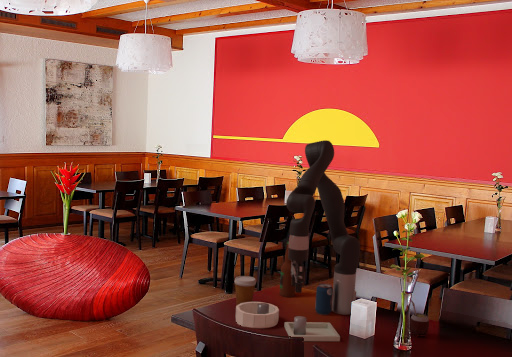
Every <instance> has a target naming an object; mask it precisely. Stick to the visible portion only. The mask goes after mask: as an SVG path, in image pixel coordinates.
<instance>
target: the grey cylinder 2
mask: <svg viewBox="0 0 512 357" xmlns="http://www.w3.org/2000/svg"><path fill="white" fill-rule="evenodd" d="M293 320H294V321H293V322H294V335H306V322H307V320H308V319H307V317H305V316H301V315H297V316H294V319H293Z"/></svg>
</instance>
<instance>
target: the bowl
mask: <svg viewBox="0 0 512 357" xmlns="http://www.w3.org/2000/svg"><path fill="white" fill-rule="evenodd" d="M258 303H264V302H262V301H252V302H245V303H240V304H239V305H237V304H236V306H235V323H236V322H237V323H236V324H237V325H238V326H240V325H241V327H243V328H252V329H268V328H272V327H275V326H276V325H277V324H278V322H279V316H280V314H279V313H280V309H279V308H278V306H276V305H274V304H272V303H267V302H266V303H267V304H269V313H268V314H257V305H258Z"/></svg>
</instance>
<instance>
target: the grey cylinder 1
mask: <svg viewBox="0 0 512 357" xmlns="http://www.w3.org/2000/svg"><path fill="white" fill-rule="evenodd" d="M269 304H270V303H269ZM269 304H267V302H263V303H258V305H257V314H268V313H269Z"/></svg>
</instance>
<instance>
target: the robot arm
mask: <svg viewBox="0 0 512 357" xmlns="http://www.w3.org/2000/svg"><path fill="white" fill-rule="evenodd" d="M304 154H305V158H306V161H307V164H308V167H309V168H307V169H306V170H305V171H304V173H303V174H302V176H301V178H300V180H299V183H298V185H297V186H296V187H295V188H294V189H293V190H292V191H291V192H290V193H289V195H288V196H287V198H286V203H285V204H286V208H287V210H288V211H289V212H291V213H297V214H299V213H301V214H303V216H302V217H299V218H292V219H291V221H290V226H289V227H290V228H289V229H290V230H289V237H288V242H289V249H288V259H290V260H291V261H292V262H291V273H292V274H291V275H292V276H293V277H292V286H296V288H295V294H301V293H302V290H303V289H302V288H303V283H304V282H305V281H304V280H305V266H304V264H303V262H306V261H308V260H309V250H310V249H309V247H310V246H309V245H310V238H309V237H310V236H309V235H310V234H309V233H310V223H311V219H312V215H313V213H314V210H315V207H316V199H315V197H314V195H315V193H316V192H318V196H319V199H320V202H321V206H322V209H323V211H324V215H325V218H326V222H327V224H328V229H329V234H330V237H331V244H332V248H333V249H334V251H335V253H336V254H338V255H340V256H339V262H338V263H336V264H335V265H334V269H333V270H334V271H333V273H334V274H333V285H332V286H333V287H332V289H333V296H332V311H331V312H332V313H335V314H337V315H346V316H347V315H351V314H350V312H351V302H352V301H355V300H356V301H357V291H356V279H357V269H358V267H359V264H360V255H361V243H360V241H359V240H358V238H357V237H354V236H352V235H349V233H348V229H347V227H346V224H345V210H346V209H345V200H344V197H343V194H342V191H341V189H340V187H339V186H338V185H337V184H336V183H335V182H334V181H333V180H332V179H331V178H330V177H329V176H328V175H327V174H326V173H325V172H326V171H327V170H328V168H329V166H330V165H331V163H332V161H333V160H334V157H335V148H334V144H333V143H332V142H331V141H330V140H326V139H325V140H319V141H315V142H310V143H307V144H306V145H305V148H304Z"/></svg>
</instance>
